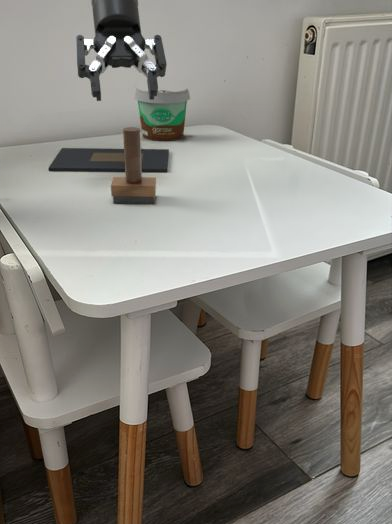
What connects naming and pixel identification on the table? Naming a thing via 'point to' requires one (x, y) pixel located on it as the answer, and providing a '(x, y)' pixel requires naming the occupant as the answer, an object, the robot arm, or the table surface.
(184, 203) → the table surface
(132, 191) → the brush
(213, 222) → the table surface
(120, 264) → the table surface
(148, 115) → the food container
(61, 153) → the mat
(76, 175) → the table surface
